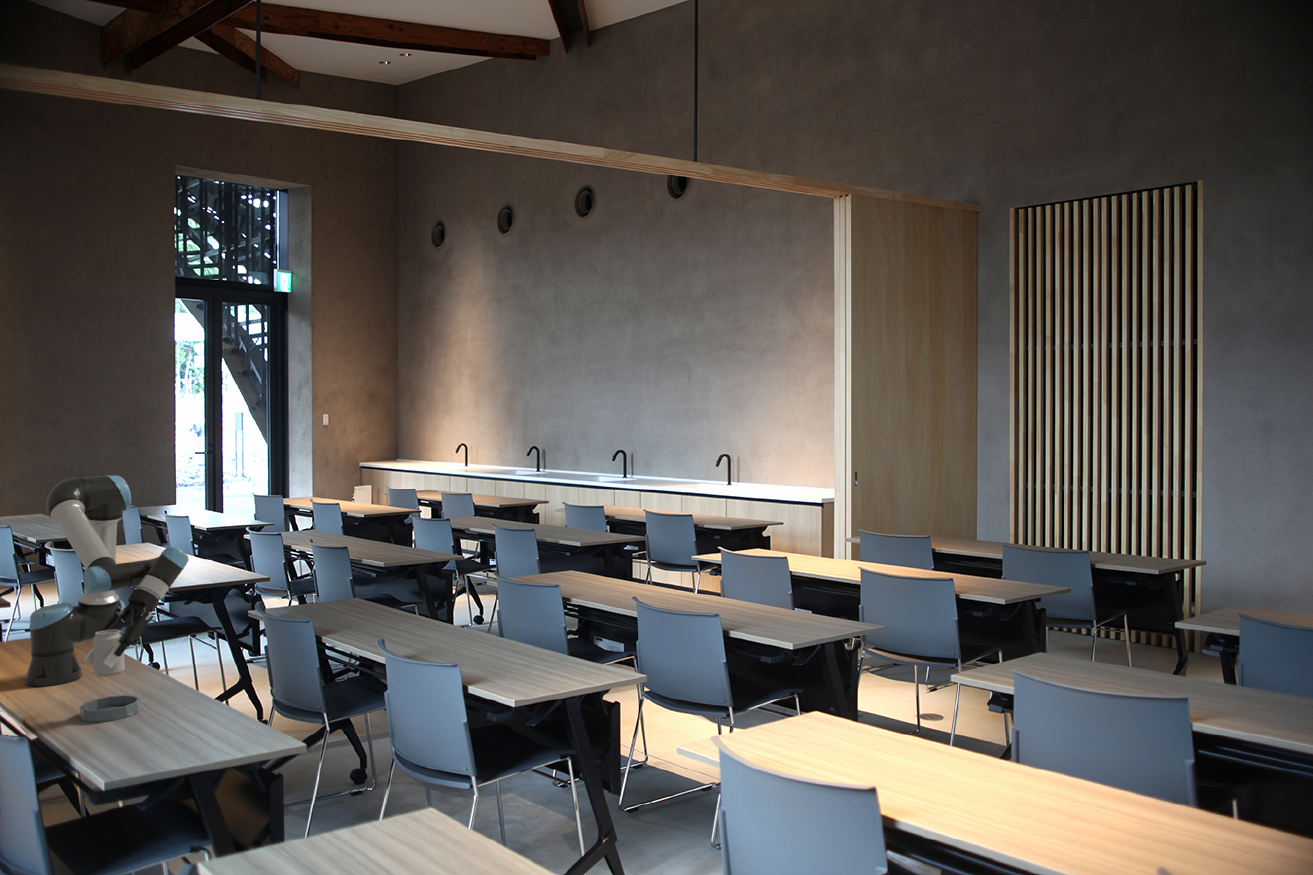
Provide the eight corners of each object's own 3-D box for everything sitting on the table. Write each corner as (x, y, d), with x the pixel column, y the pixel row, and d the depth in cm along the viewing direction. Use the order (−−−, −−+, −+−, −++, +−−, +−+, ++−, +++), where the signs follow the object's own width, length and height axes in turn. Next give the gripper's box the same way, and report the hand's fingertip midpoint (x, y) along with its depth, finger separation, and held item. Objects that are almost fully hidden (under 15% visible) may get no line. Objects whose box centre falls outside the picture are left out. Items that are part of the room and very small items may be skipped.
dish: (75, 714, 276) (74, 703, 276) (131, 702, 286) (130, 692, 286) (89, 725, 266) (88, 714, 266) (147, 713, 276) (146, 702, 276)
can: (115, 677, 272) (113, 633, 272) (88, 677, 272) (86, 634, 272) (130, 669, 280) (128, 627, 279) (104, 670, 280) (102, 628, 279)
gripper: (180, 604, 285) (131, 674, 271) (133, 600, 294) (83, 667, 280) (163, 589, 280) (112, 660, 266) (115, 585, 289) (64, 653, 275)
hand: (97, 663), depth 273 cm, fingers closed on can, 7 cm apart
